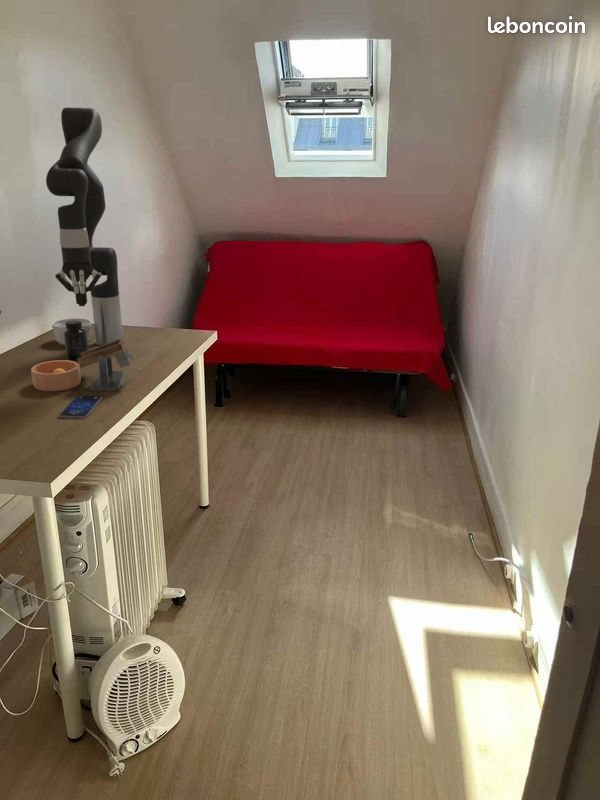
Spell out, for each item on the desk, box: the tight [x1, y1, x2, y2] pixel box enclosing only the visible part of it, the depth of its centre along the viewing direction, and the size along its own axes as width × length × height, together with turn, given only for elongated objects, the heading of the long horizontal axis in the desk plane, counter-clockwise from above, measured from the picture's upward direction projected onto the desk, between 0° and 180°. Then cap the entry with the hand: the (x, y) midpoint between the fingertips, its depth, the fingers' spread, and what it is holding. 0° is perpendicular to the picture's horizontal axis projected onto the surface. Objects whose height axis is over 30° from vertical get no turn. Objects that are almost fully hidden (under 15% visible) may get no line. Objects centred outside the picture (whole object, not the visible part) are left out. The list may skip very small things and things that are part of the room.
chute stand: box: [88, 355, 125, 392], centre depth 173 cm, size 14×8×10 cm, turn 9°
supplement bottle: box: [64, 321, 89, 361], centre depth 194 cm, size 7×7×12 cm
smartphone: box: [57, 394, 104, 420], centre depth 157 cm, size 7×1×15 cm
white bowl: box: [51, 317, 92, 346], centre depth 213 cm, size 13×13×7 cm
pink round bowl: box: [30, 359, 82, 392], centre depth 172 cm, size 13×13×5 cm
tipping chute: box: [76, 337, 134, 369], centre depth 176 cm, size 15×13×7 cm
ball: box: [53, 368, 66, 373], centre depth 172 cm, size 4×4×4 cm
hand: (82, 305), depth 174 cm, fingers closed
